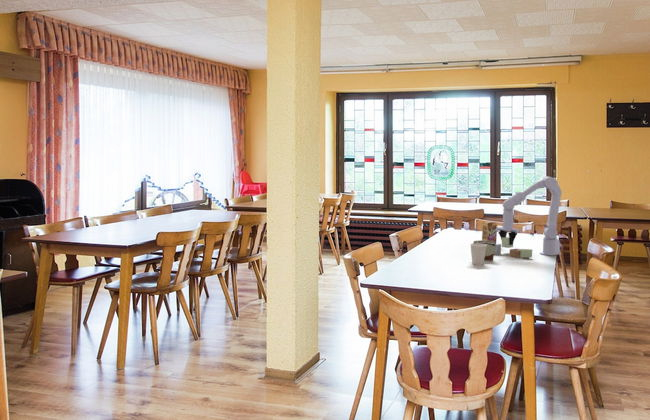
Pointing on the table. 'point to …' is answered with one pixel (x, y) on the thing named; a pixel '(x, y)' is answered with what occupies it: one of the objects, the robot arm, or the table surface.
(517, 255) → the walnut plinth
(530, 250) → the pale green block
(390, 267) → the table surface
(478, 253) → the dixie cup
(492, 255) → the food container
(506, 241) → the sage block
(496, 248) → the slate block
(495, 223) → the candy box
